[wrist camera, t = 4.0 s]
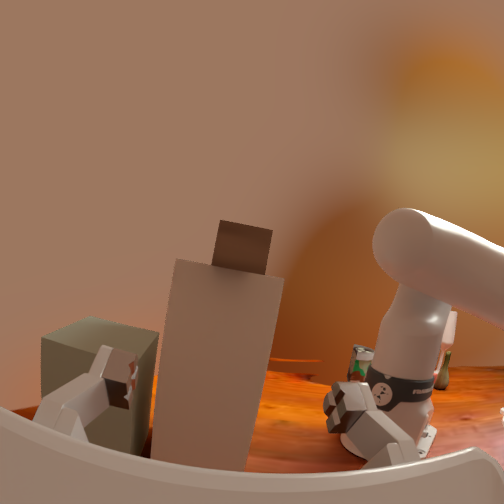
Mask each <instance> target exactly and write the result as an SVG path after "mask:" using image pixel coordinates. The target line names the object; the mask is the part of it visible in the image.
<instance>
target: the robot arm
mask: <svg viewBox="0 0 504 504" xmlns="http://www.w3.org/2000/svg"><path fill="white" fill-rule="evenodd" d="M373 252H374V256H375V258H376V261H377V263H378V264H379V265H380V267H381V268H382V269H383V270H384V271H385V272H386V273H387V274H388V275H389V276H390V277H392V278H393V279H394V280H396V281H397V282H399V283H400V284H399V287H398V290H397V293H396V296H395V298H394V300H393V303H392V305H391V307H390V308H389V310H388V312H387V313H386V314H385V316H384V317H383V319H382V322H381V325H380V330H379V334H378V339H377V343H376V348H375V352H374V356H373V360H372V364H370V365H369V366H368V370H367V372H366V374H365V380H364V383H361V382H335V383H334V384H333V385H332V387H331V388H332V391H330V392H329V393H327V395H326V396H325V398H324V403H323V409H324V413H325V414H326V415H327V416H328V419H327V421H326V423H327V428H328V432H329V433H341V437H340V439H341V442H342V444H343V445H344V447H345V448H346V449H348V450H349V451H350V452H352V453H353V454H355V455H357V456H359V457H362V458H364V459H366V460H367V461H368V462H367V463H366V464H365V465H364V466H363V467H362V468H361V469H360V470H353V471H342V472H328V473H302V474H277V473H251V472H237V471H225V470H216V469H207V468H199V467H192V466H186V465H180V464H174V463H168V462H163V461H158V460H153V459H148V458H144V457H139V456H135V455H131V454H127V453H123V452H119V451H116V450H112V449H109V448H105V447H102V446H98V445H95V444H92V443H89V441H88V439H87V436H86V434H85V431H84V427H85V426H87V425H88V424H89V423H90V422H91V421H93V420H94V419H95V418H96V417H97V416H99V415H100V414H101V413H102V412H103V411H105V410H106V409H107V408H108V407H109V405H110V406H114V407H118V408H123V409H127V410H129V409H130V406H131V402H132V399H133V390H134V389H135V388H136V385H137V380H138V372H139V369H138V366H137V363H138V354H135V353H131V352H127V351H124V350H120V349H116V348H112V347H109V346H105V345H102V346H101V347H100V348H99V350H98V353H97V355H96V357H95V359H94V361H93V364H92V366H91V368H90V370H89V373H84V374H82V375H80V376H79V377H77V378H75V379H74V380H72V381H70V382H68V383H67V384H65V385H63V386H62V387H60V388H58V389H57V390H55V391H53V392H52V393H50V394H48V395H46V396H45V397H43V399H42V401H41V403H40V405H39V407H38V409H37V411H36V414H35V416H34V418H33V420H32V421H31V420H28V419H26V418H24V417H22V416H20V415H18V414H15V413H13V412H11V411H9V410H7V409H5V408H3V407H1V406H0V504H504V471H503V469H502V467H501V466H500V464H499V463H498V462H497V461H496V460H495V459H494V458H493V457H491V456H490V455H489V454H487V453H486V452H484V451H483V450H481V449H480V448H478V447H469V448H466V449H463V450H459V451H456V452H452V453H448V454H444V455H440V456H436V457H432V458H428V459H425V458H426V456H427V454H428V452H429V449H430V447H431V445H432V443H433V440H434V438H435V436H436V433H437V429H435V428H434V427H432V426H431V425H429V424H430V421H431V418H432V415H433V412H434V407H433V405H432V402H431V399H430V396H431V395H432V389H433V387H434V383H435V381H436V379H437V378H436V377H437V373H434V370H435V367H436V363H437V359H438V355H439V351H440V347H441V343H442V338H443V334H444V330H445V326H446V323H447V319H448V316H449V313H450V310H451V307H452V306H453V307H456V308H458V309H460V310H463V311H465V312H467V313H469V314H472V315H474V316H476V317H478V318H480V319H482V320H484V321H486V322H488V323H490V324H492V325H494V326H496V327H498V328H500V329H502V330H504V248H502V247H499V246H497V245H495V244H493V243H491V242H489V241H487V240H485V239H483V238H481V237H479V236H477V235H475V234H473V233H471V232H469V231H467V230H464V229H462V228H460V227H458V226H456V225H453V224H451V223H449V222H446V221H444V220H442V219H439V218H436V217H434V216H431V215H429V214H426V213H424V212H421V211H418V210H414V209H410V208H400V209H397V210H394V211H392V212H390V213H388V214H387V215H386V216H385V217H384V218H383V219H382V220H381V221H380V223H379V224H378V226H377V228H376V230H375V233H374V237H373Z"/></svg>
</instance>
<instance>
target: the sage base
mask: <svg viewBox="0 0 504 504" xmlns="http://www.w3.org/2000/svg"><path fill="white" fill-rule="evenodd" d="M158 337H159V332H155V331H150V330H146V329H141V328H137V327H133V326H128V325H124V324H120V323H116V322H112V321H108V320H104V319H100V318H96V317H92V316H89V317H87V318H84V319H82V320H80V321H77V322H75V323H73V324H70V325H68V326H66V327H63V328H61V329H59V330H56V331H54V332H52V333H49V334H47V335H45V336H43V337H42V338H41V394H42V399H43V397H45V396H46V395H48V394H50V393H52V392H53V391H55V390H57V389H58V388H60V387H62V386H63V385H65V384H67V383H68V382H70V381H72V380H74V379H75V378H77V377H79V376H80V375H82V374H84V373H89V370H90V368H91V366H92V364H93V361H94V359H95V357H96V355H97V353H98V350H99V348H100V347H101V346H102V345H105V346H109V347H112V348H116V349H120V350H124V351H127V352H131V353H135V354H138V363H137V366H138V369H139V372H138V380H137V385H136V388H135V389H134V390H133V399H132V402H131V406H130V409H129V410H127V409H123V408H118V407H114V406H110V405H109V407H108V408H107V409H106V410H105V411H103V412H102V413H101V414H100V415H99V416H97V417H96V418H95V419H94V420H93V421H91V422H90V423H89V424H88V425H87V426H85V427H84V431H85V434H86V436H87V439H88V441H89V443H92V444H95V445H98V446H102V447H105V448H109V449H112V450H116V451H119V452H123V453H127V454H131V455H135V456H139V457H140V456H141V453H142V450H143V447H144V445H145V442H146V439H147V436H148V432H149V419H150V408H151V397H152V388H153V379H154V370H155V362H156V354H157V346H158V339H159V338H158Z"/></svg>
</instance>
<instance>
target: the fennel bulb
mask: <svg viewBox="0 0 504 504" xmlns="http://www.w3.org/2000/svg"><path fill="white" fill-rule="evenodd" d="M450 355H451V352H446V356H445V361H444V364H443V366H442V368H441V370H440V371H439V373H438V374H437V377H436V378H437V379H436V381H435V383H434V387H435V388H437V389H445V388H446V387H447V386H448V383H449V374H448V363H449V360H450Z"/></svg>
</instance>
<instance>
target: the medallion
mask: <svg viewBox="0 0 504 504" xmlns="http://www.w3.org/2000/svg"><path fill="white" fill-rule="evenodd" d="M500 414H502V415H504V408H501V410H500ZM502 426H503V427H504V416H503V419H502Z"/></svg>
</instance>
